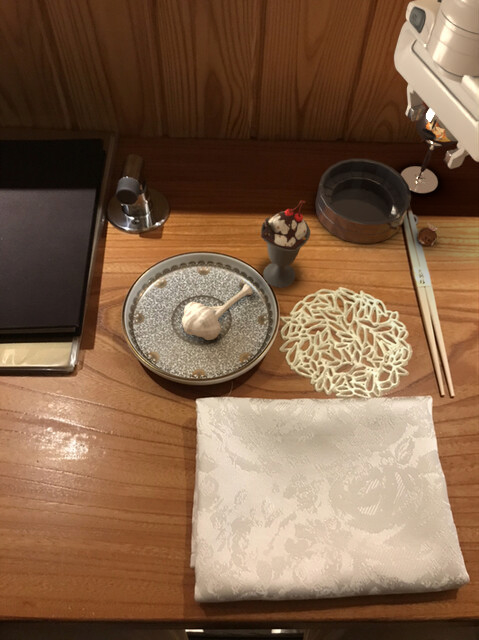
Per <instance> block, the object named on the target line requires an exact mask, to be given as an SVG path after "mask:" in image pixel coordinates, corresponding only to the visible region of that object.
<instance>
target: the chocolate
mask: <svg viewBox="0 0 479 640" xmlns="http://www.w3.org/2000/svg"><path fill="white" fill-rule="evenodd" d="M426 225H427V226H428V227H423V228H421V229H419V231H418V232H417V234H416V236H417V241H418V242H419V243H420V244H421V245H424V246H429V245H434V243H435V242H436V239H437V238H438V234H437V231H436V230H437V227H435V226H434V225H433V224H430V223H429V222H427V223H426Z"/></svg>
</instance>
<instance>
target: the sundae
mask: <svg viewBox="0 0 479 640" xmlns="http://www.w3.org/2000/svg"><path fill="white" fill-rule="evenodd" d="M303 204H306V200H302V199H301V200H300V201H299V203H298V205H297V206H296V207H294V208H286V209H285V211H280V212H278V213H275V214H273V215H270V216H267V217H266V218H264V219H263V222H262V224H261V229H260V238H261V239H262V240H263V241H264V242H266V249H267V255H268V258H269V260H270V262H271V263H269V264H267V265H266V266H265V268H263V269H264V270H263V273H262V276H263V279H264V281H265V280H266V281H267V282H266V281H265V282H266V283H267V284H268V285H270V286H272V287H274V288H279V289H282V288H287V287H290V286H291V285H292V284H293V282H294V281H295V279H296V272H295V270H294V268H293V267H292V266H290V265H291V264H293V263H294V262H295V260H296V259H297V257H298V254H299V252H300V250H301V248H302V247H303V246H305V245H306V243H307V242H308V241H309V239H310V237H311V229H310V227H309V225H308V223H307V221H306V220H305V219H304V215H303V214H302V213H301V209H302V206H303ZM298 208H299V209H298ZM296 209H298V212H296V213H294V211H295V210H296Z"/></svg>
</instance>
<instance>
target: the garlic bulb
mask: <svg viewBox="0 0 479 640" xmlns="http://www.w3.org/2000/svg"><path fill="white" fill-rule="evenodd" d="M253 293H254V291H253V289H252V287H251V286H250V285H248V284H247V283H245V284H244V285H243V287H242V289H241V290H240V291H239V292H238V293H236V294H235V295H234V296H232V297H231V298H230V299H229V300H227V301H226V302H225V303H224V304H223V305H217V306H208V305H204V304H203V303H201V302H198V303H197V301H190V302H189V303H188V304H186V305H185V307H184V309H183V316H182V318H181V324H182V326H183V332H184V333H186V334H187V335H189V336H192V335H194V336H195V337H198V338H199V337H200V338H203V339H204V340H207V341H211V340H215V339H217V337H218V336H219V334H220V333H221V331H222V329H221V324H220V321H219V318H220V317H221V316H222V315H223V314H224V313H226V311H227V310H229V309H230V307H231V306H233V305H234V304H236V302H238V301H239V300H241V299H242V298H244V297H245V296H252V295H253Z"/></svg>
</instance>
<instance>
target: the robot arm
mask: <svg viewBox="0 0 479 640" xmlns="http://www.w3.org/2000/svg"><path fill="white" fill-rule="evenodd" d="M405 19H406V21H405V22H404V23H403V24H402V27H401V29H400V32H399V36H398V39H397V41H396V46H395V50H394V54H393V62H394V68H395V70H396V72H398V73H399V75H401V77H402V78H403V79H404V80H405V81H406V83H407V87H406V96H407V108H406V111H405V115H406V117H407V118H408V119H409V120H410V122H415V120H420V119H421V118H422V117H423V113H424V111H425V109H426V108H425V107H424V106H423V101H424V102H425V103H426V104H427V106H428V107H429V108H430V109H431V110H432V111H433V113H434V114H435V115H436V116H437V117H438V118H439V120H440V121H441V122H442V123H443V124H444V125H445V126H446V128H447V129H448V130H449V131H450V132H451V133H452V135H453V136H454V137H455V138H456V139H457V140H458V142H457V144H456V148H454V149H449V150H447V151H446V153H445V157H444V158H443V162H444V163H445V165H447V167H448V168H449V169H450V170H451V169H456V168H460V166H462V165H463V162H464V161H465V158H466V157H467V156H470V157H471V158H472V159H473V161H475V162H477V163H479V0H412V1H410V2H409V3H408V4H407V7H406V11H405Z"/></svg>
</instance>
